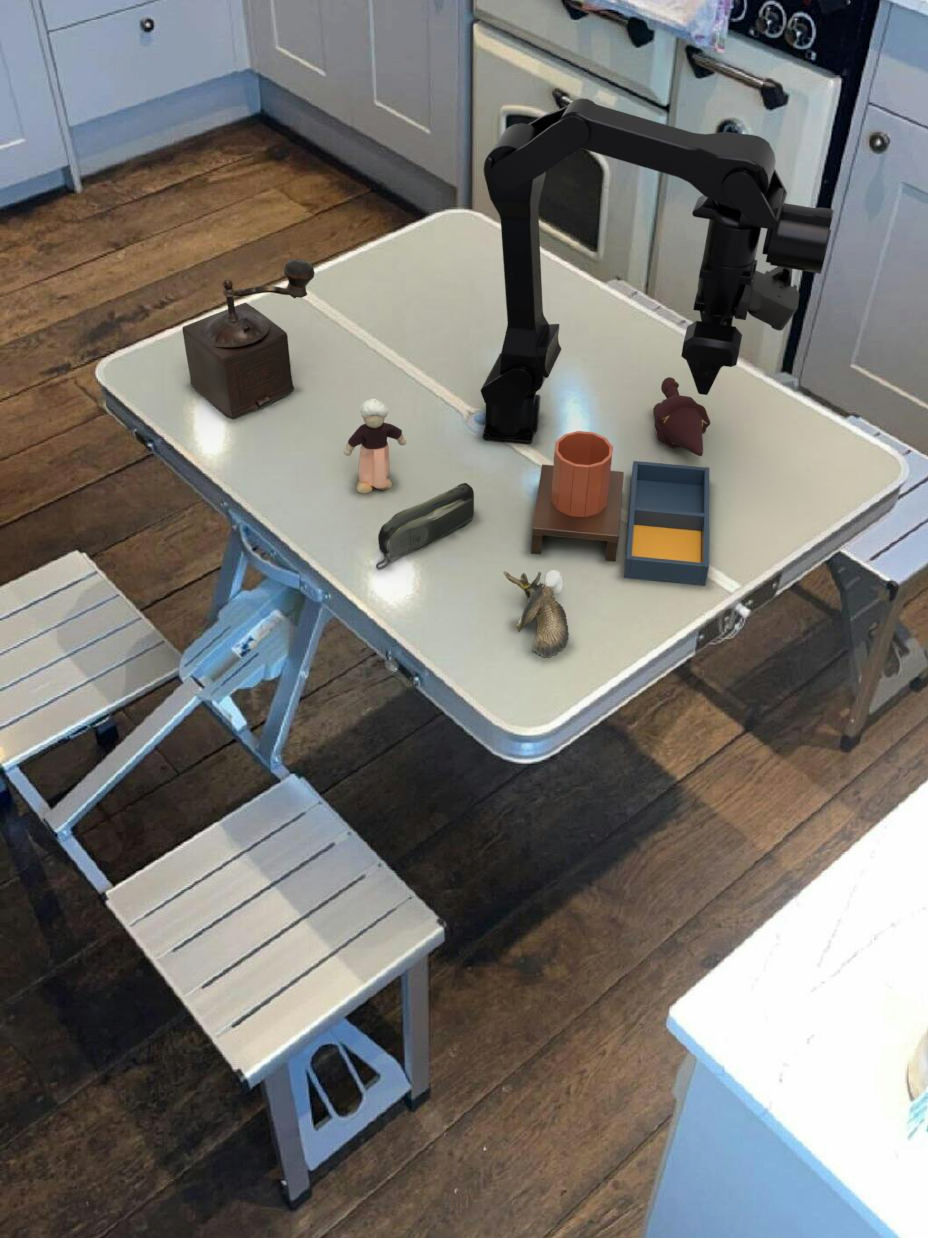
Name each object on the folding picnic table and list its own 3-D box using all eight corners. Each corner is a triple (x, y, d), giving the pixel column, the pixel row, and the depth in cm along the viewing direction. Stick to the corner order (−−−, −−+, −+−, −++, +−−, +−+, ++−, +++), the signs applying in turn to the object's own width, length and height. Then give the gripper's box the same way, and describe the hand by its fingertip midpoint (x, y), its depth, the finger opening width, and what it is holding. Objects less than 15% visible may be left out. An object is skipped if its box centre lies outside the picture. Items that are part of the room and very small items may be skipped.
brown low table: (530, 553, 152) (532, 527, 150) (540, 489, 161) (542, 463, 158) (615, 561, 152) (618, 536, 149) (620, 496, 160) (623, 471, 157)
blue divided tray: (623, 577, 150) (626, 558, 148) (630, 479, 162) (633, 460, 160) (705, 585, 149) (709, 566, 147) (706, 486, 162) (709, 467, 159)
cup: (549, 514, 151) (552, 463, 146) (553, 479, 156) (557, 428, 151) (605, 519, 151) (611, 469, 145) (608, 484, 155) (614, 433, 150)
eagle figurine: (484, 599, 145) (502, 644, 138) (518, 549, 142) (538, 593, 135) (539, 621, 149) (559, 667, 141) (573, 573, 146) (595, 617, 138)
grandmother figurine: (356, 502, 159) (350, 418, 150) (343, 484, 161) (337, 400, 152) (412, 484, 161) (410, 400, 152) (399, 467, 164) (396, 383, 155)
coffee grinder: (233, 423, 170) (215, 303, 157) (189, 385, 176) (168, 267, 163) (329, 380, 177) (319, 262, 164) (283, 345, 183) (271, 228, 170)
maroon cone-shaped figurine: (737, 432, 159) (695, 373, 170) (683, 427, 157) (645, 367, 168) (717, 480, 163) (678, 419, 174) (665, 475, 161) (628, 413, 172)
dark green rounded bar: (463, 476, 155) (365, 528, 148) (479, 488, 153) (381, 541, 146) (462, 508, 158) (366, 560, 151) (478, 520, 157) (382, 573, 150)
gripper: (796, 309, 136) (768, 429, 147) (808, 225, 149) (781, 340, 160) (691, 293, 138) (671, 412, 149) (711, 211, 151) (691, 326, 162)
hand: (707, 372), depth 155 cm, fingers open, 9 cm apart
